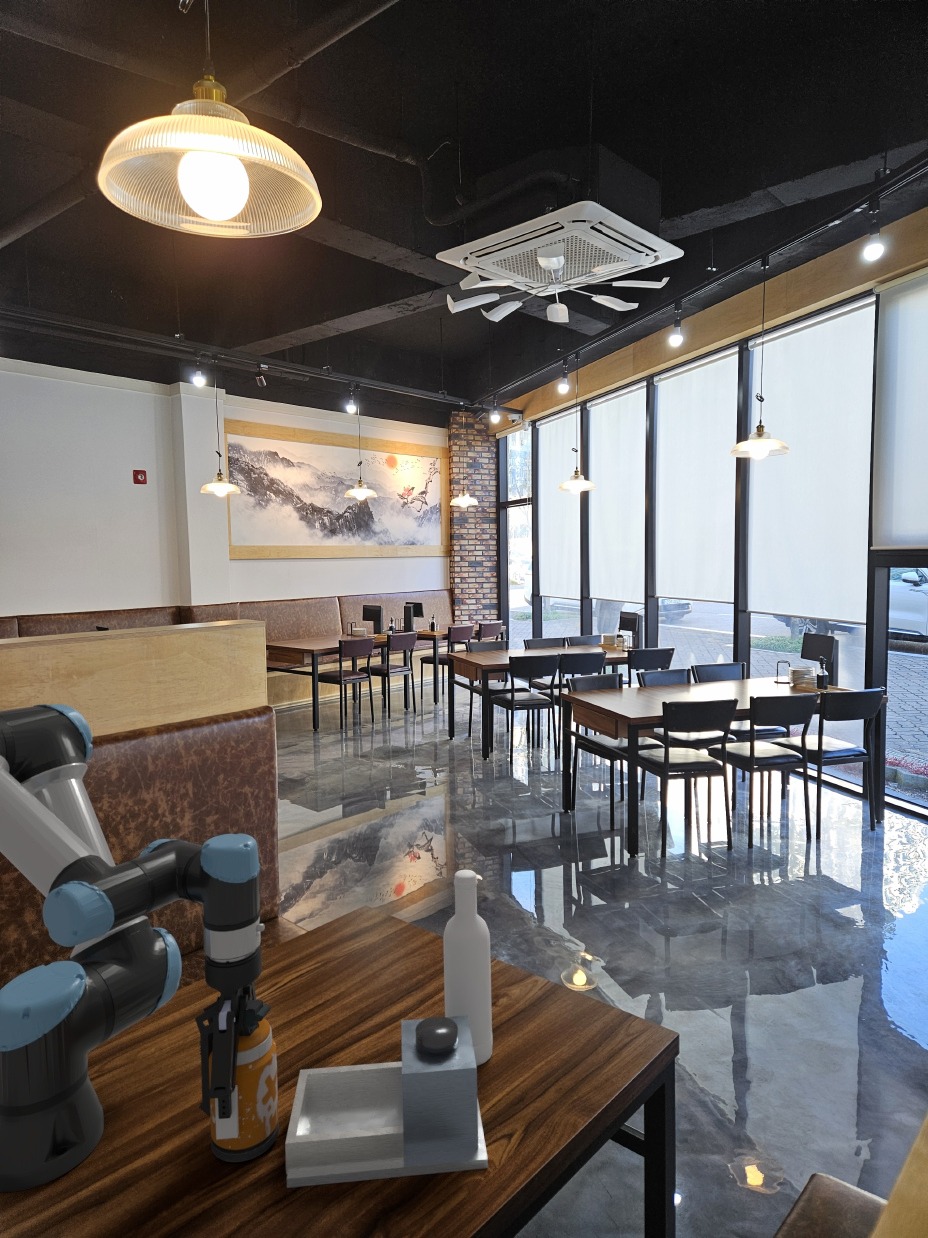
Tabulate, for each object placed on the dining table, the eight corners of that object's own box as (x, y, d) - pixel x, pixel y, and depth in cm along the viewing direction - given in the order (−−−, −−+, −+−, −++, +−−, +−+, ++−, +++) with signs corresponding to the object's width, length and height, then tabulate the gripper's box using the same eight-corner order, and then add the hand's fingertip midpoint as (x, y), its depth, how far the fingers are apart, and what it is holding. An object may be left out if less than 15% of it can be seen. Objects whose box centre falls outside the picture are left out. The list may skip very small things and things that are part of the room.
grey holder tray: (285, 1188, 90) (282, 1079, 90) (301, 1100, 106) (299, 1007, 106) (487, 1168, 93) (485, 1062, 92) (474, 1085, 108) (472, 994, 108)
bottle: (484, 1072, 111) (480, 885, 111) (438, 1063, 114) (434, 880, 113) (498, 1042, 119) (495, 867, 118) (454, 1034, 122) (451, 862, 121)
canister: (259, 1172, 93) (255, 1022, 92) (184, 1160, 95) (179, 1014, 94) (289, 1122, 102) (285, 986, 101) (220, 1112, 104) (216, 979, 103)
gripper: (242, 994, 86) (247, 1169, 87) (275, 911, 110) (278, 1049, 110) (179, 999, 86) (184, 1175, 86) (225, 914, 109) (229, 1053, 109)
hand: (237, 1105), depth 98 cm, fingers open, 11 cm apart
